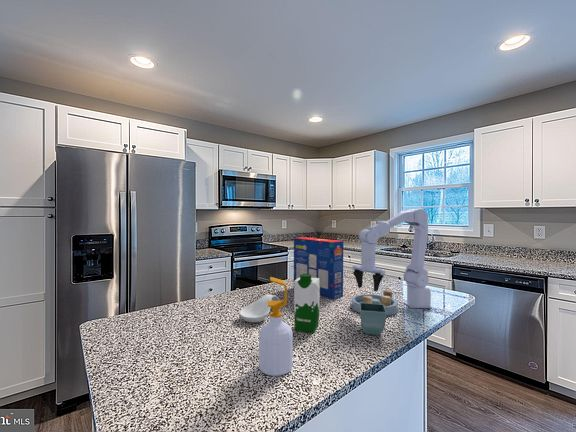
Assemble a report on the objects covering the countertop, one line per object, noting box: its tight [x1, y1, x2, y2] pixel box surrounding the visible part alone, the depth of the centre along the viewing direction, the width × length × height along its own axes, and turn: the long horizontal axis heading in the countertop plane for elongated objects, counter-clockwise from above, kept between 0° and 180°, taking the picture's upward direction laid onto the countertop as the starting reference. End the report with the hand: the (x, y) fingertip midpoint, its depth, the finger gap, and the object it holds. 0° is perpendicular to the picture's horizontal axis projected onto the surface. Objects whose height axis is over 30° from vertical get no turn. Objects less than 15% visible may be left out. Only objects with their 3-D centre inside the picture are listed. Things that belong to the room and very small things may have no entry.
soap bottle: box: [258, 276, 294, 377], centre depth 80 cm, size 9×9×25 cm
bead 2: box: [382, 289, 393, 298], centre depth 139 cm, size 4×4×5 cm
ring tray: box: [350, 293, 399, 317], centre depth 130 cm, size 20×20×4 cm
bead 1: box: [363, 296, 372, 304], centre depth 126 cm, size 4×4×5 cm
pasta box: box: [293, 236, 344, 300], centre depth 155 cm, size 28×8×28 cm, turn 42°
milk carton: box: [293, 274, 321, 334], centre depth 107 cm, size 9×9×20 cm
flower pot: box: [359, 303, 387, 336], centre depth 104 cm, size 9×9×9 cm
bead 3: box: [381, 295, 391, 306], centre depth 126 cm, size 4×4×5 cm
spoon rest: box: [238, 293, 281, 324], centre depth 120 cm, size 24×12×7 cm, turn 154°
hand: (367, 289), depth 126 cm, fingers open, 7 cm apart
